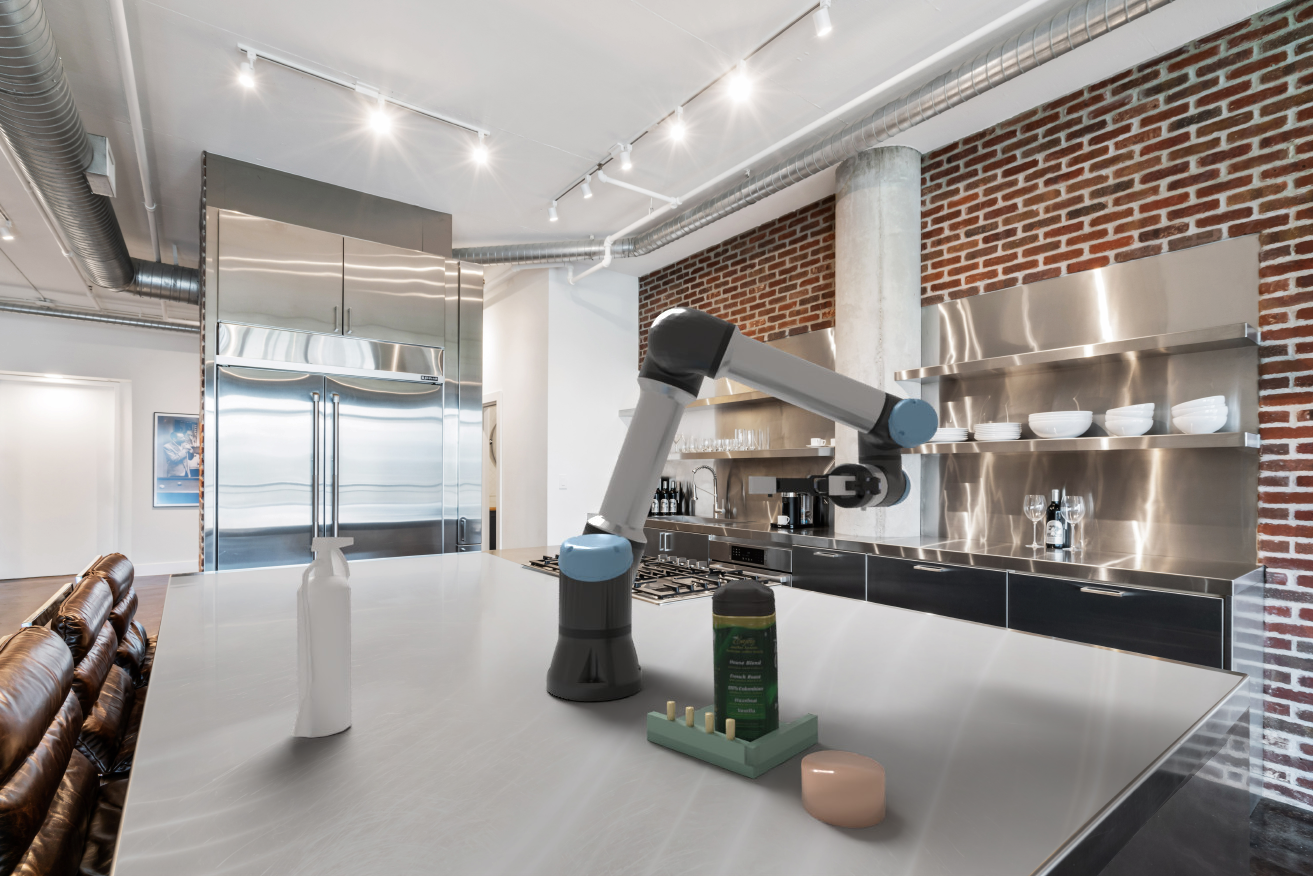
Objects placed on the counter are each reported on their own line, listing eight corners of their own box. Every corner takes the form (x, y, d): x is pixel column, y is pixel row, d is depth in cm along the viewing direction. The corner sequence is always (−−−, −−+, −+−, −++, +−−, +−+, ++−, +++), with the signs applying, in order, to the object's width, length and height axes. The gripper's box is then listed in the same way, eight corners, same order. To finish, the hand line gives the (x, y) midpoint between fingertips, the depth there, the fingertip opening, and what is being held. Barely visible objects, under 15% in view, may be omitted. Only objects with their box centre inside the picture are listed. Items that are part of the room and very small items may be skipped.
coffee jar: (780, 751, 75) (774, 586, 76) (711, 747, 76) (706, 586, 78) (780, 721, 84) (775, 576, 86) (719, 719, 86) (715, 575, 87)
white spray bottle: (262, 749, 79) (271, 540, 80) (320, 714, 91) (326, 533, 93) (316, 751, 78) (324, 540, 80) (367, 715, 90) (373, 533, 92)
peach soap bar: (786, 809, 65) (786, 767, 65) (826, 782, 71) (825, 744, 71) (863, 838, 59) (862, 793, 60) (899, 807, 65) (898, 765, 65)
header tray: (647, 739, 82) (647, 697, 82) (715, 711, 92) (715, 673, 92) (753, 778, 71) (753, 729, 71) (817, 742, 81) (817, 699, 82)
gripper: (930, 510, 103) (870, 513, 87) (792, 506, 120) (721, 508, 104) (929, 462, 103) (869, 457, 88) (791, 465, 120) (721, 461, 105)
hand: (788, 485), depth 96 cm, fingers open, 13 cm apart
